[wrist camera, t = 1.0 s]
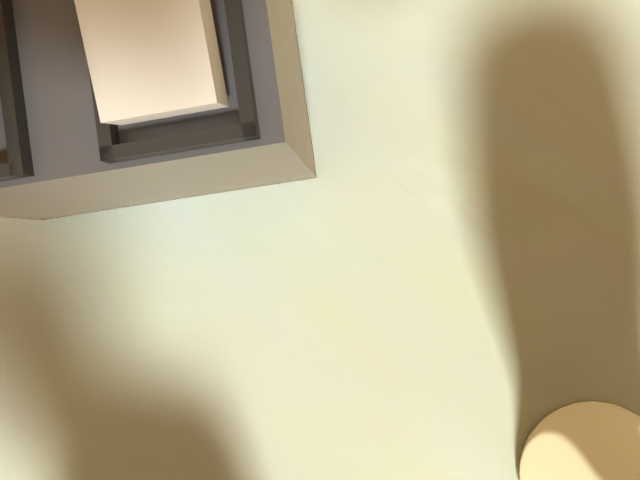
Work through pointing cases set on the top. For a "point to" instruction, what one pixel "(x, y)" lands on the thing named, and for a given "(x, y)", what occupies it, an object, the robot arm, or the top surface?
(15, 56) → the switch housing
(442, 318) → the top surface
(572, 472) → the beer glass
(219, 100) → the white rocker
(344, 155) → the top surface
